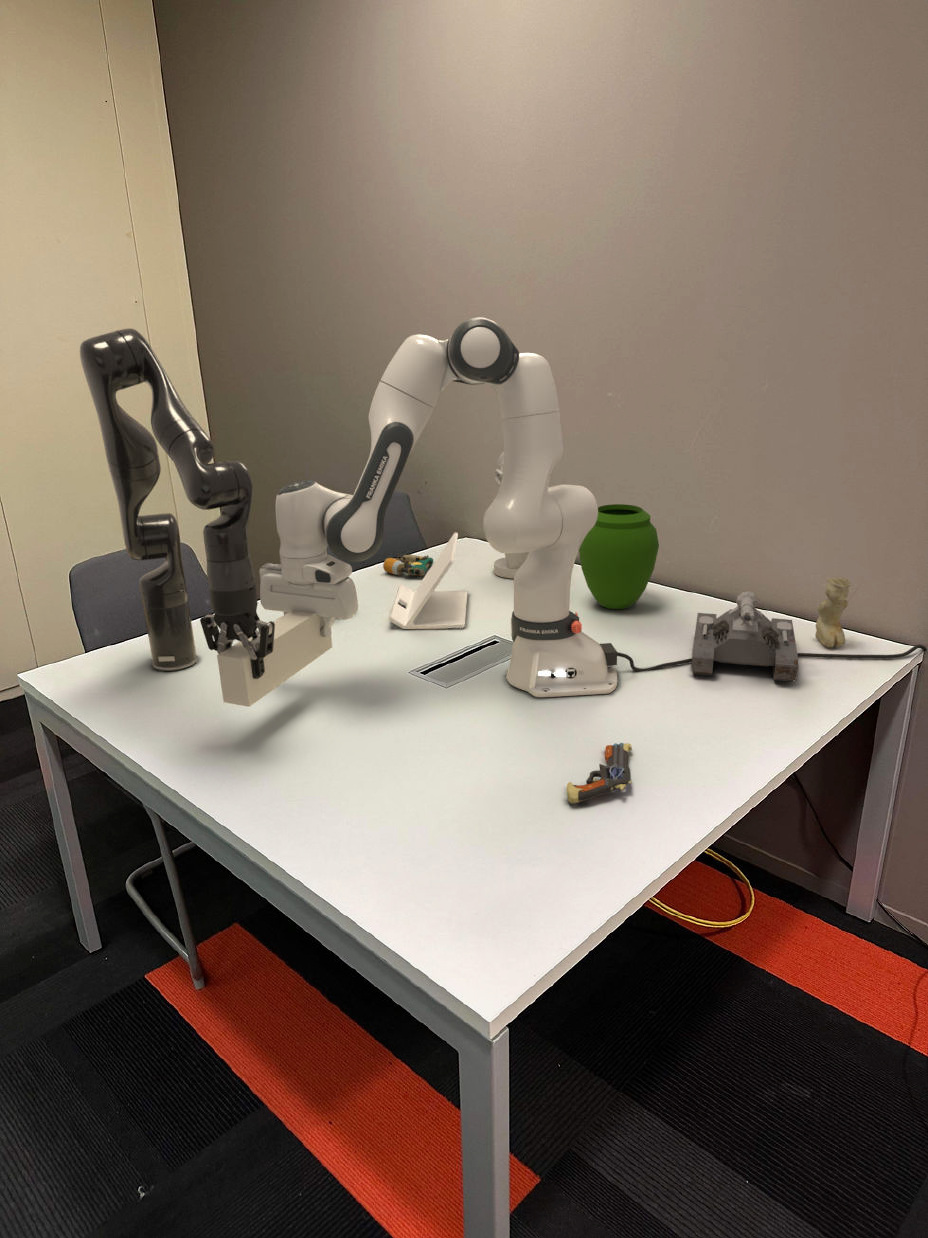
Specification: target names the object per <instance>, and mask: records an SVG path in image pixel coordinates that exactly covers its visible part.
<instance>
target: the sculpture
mask: <svg viewBox="0 0 928 1238" xmlns="http://www.w3.org/2000/svg"><path fill="white" fill-rule="evenodd" d="M826 581H827V586H826V588H825V590H824V593H825V595H826V596H827V598H826V600H824V601H822V602H821V603H820V604H819V605H818V606H817V609H816V610H817V612H818V614H819V616H818V617H817V619H816V623H815V630H816V631H815V634H814V635H815V639H817V640H819V642H820V643H821V644H822V645H823V646H825V647H827V648H832V647H834V646H835V647H843V646H844V645H845V643H846V642H845V641H846V636H845V632H844V630H843V626H842V624H841V622H840V621H841V617H842V615H843V612H844V610H845V609H846V608H847V606H848V604H849V603H848V602H849V601H847V598H848V597H849V592H850V586H851V585H852V582H850V580H848V579H847V578H845V577H841V576H840V577H835V578H831V577H827V578H826Z"/></svg>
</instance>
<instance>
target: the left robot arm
mask: <svg viewBox="0 0 928 1238" xmlns="http://www.w3.org/2000/svg"><path fill="white" fill-rule="evenodd" d="M79 359H80V362H81V367H82V370H83V374H84V377H85V380H86V383H87V386H88V389H89V393H90V395H91V398H92V403H93V405H94V408H95V412H96V415H97V419H98V422H99V427H100V431H101V437H102V442H103V448H104V452H105V456H106V457H105V458H106V462H107V466H108V470H109V473H110V477H111V481H112V484H113V488H114V491H115V496H116V499H117V505H118V510H119V511H118V512H119V517H120V523H121V530H122V538H123V542H124V546H125V549H126V553H127V555H128V556H129V557H130V558H131V559H132V560H134V561H149V560H150V561H151V560H159V559H165V561H164V562H163V564H161V565H160V566H159V567H157V568H155V569H153V570H151V571H149V572H147V573H145V574H144V575H142V576H141V577H140V578H139V581H138V584H139V591H140V597H141V602H142V607H143V613H144V618H145V619H144V620H145V625H146V630H147V631H146V632H147V637H148V642H149V648H150V655H151V663H152V667H153V668H154V669H155V670H157V671H163V672H169V671H171V672H173V671H179V670H183V669H187V668H189V667H192V666H194V664H196V663H197V662H198V654H197V650H196V643H195V636H194V630H193V623H192V616H191V610H190V603H189V597H188V590H187V584H186V577H185V571H184V567H183V566H184V565H183V558H182V557H183V556H182V547H181V537H180V529H179V525H178V521H177V519H176V517H175V516H174V515H173V514H172V513H170V512H169V513H168V512H165V513H154V514H144V515H143V514H142V515H140V511H141V509H142V506H143V504H144V503H145V501H146V500H147V498H148V497H149V495H150V494H151V493H152V491H153V490H154V488H155V486H156V484H157V483H158V481H159V478H160V475H161V470H162V469H161V461H160V456H159V450H158V445H157V442H158V444H159V445H160V447H161V448H162V449H163V450H164V452H165V453H166V455H168V457H169V458H170V460H171V461H172V462H173V464H174V466H175V468H176V471H177V473H178V476H179V478H180V481H181V483H182V488H183V490H184V493H185V496H186V498H187V499H188V501H189V502H190V504H192V505H193V506H195V508H198V509H200V510H203V511H211V510H215V509H219V508H222V510H221V513H220V515H219V516H218V517H216V518H214V519H213V520H211V521H209V522H208V523H207V524H205V525H204V527H203V530H202V533H203V534H202V535H203V543H204V550H205V557H206V558H205V559H206V576H207V583H208V592H209V596H210V597H209V598H210V606H211V610H212V612H213V613H208V614H206V615H204V616H202V617H201V618H200V619H199V621H200V625H201V628H202V632H203V635H204V639H205V641H206V644H207V647H208V649H209V650H210V651H216V652H217V655H218V654H220V653H222V652H223V651H225V650H227V649H228V648H230V647H232V646H233V645H234V644H233V643H234V641H235V640H236V641H238V642H240V641H241V642H242V644H243V647H244V648H246V649H247V650H248V652H249V654H250V656H251V658H252V659H251V667H252V675H253V678H254V679H258V678H260V677H261V676H263V674H264V672H265V668H264V659H263V658H264V657H266V656H267V655H268V654H270V653H272V652H273V645H274V631H275V624H274V622H273V621H272V620H270V621H268V622H266V621H264V620H261V619H260V617H259V615H258V612H257V609H258V605H259V604H258V603H259V602H258V596H257V585H256V578H255V570H254V564H253V561H252V557H251V551H250V549H251V548H250V541H249V533H248V528H249V522H250V515H251V509H252V502H253V497H254V481H253V478H252V475H251V472H250V470H249V469H248V467H247V466H246V465H245V463H243V462H241V461H239V460H238V459H237V460H236V459H229V460H228V459H227V460H222V461H217V462H212V463H210V462H211V461H212V460H213V459H214V456H215V454H216V453H215V452H216V449H215V445H214V442H213V441H212V439H211V438H210V436H209V435H208V434H207V432H205V430H204V429H203V428H202V427H201V425H200V423H199V422H198V421H197V420H196V419H195V418H194V417H193V415H192V413H191V412H190V411H189V410H188V408H187V407H186V405H185V404H184V402H183V400H182V398H181V397H180V394H179V393H178V392H177V390H176V388H175V386H174V385H173V382H172V380H171V379H170V377H169V375H168V374H167V372H166V370H165V369H164V367H163V365H162V364H161V362H160V360H159V359H158V356H157V355H156V353H155V352H154V350H153V348H152V347H151V344H149V342H148V341H147V339H146V338H145V337H144V335H142V333H140V332H139V331H138V330H137V329H135V328H129V327H128V328H122V329H118V330H114V331H110V332H107V333H104V334H103V333H102V334H100V335H96V336H93V337H89V338H87V339H84V340H82V342H81V344H80V345H79ZM144 383H145V384H147V385H148V386H149V388H150V390H151V407H150V408H151V410H150V425H151V431H152V433H151V432H150V431H149V430H148V429H147V428H146V427H145V426H144V425H142V424H141V423H140V422H139V421H137V420H136V419H135V418H133V417H132V416H131V415H130V414H129V413H128V412H127V411H125V410H124V408H122V407H121V405H119V402H118V400H117V393H118V392H119V391H122V390H125V389H128V388H132V387H134V386H138V385H141V384H144ZM257 629H258V630H259V632H258V630H257ZM259 635H260V636H259ZM251 637H252V640H251V641H249V640H248V639H249V638H251ZM254 646H255V648H254ZM255 649H256V650H255Z"/></svg>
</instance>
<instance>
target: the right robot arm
mask: <svg viewBox="0 0 928 1238" xmlns="http://www.w3.org/2000/svg"><path fill="white" fill-rule="evenodd" d="M451 382H453V383H460V384H465V385H471V386H479V385H486V384H488V385H489V386H490V387H491V388H492V389H493V390H494V392H495V394H496V397H497V401H498V407H499V416H500V424H501V434H502V445H503V452H504V470H503V476H502V480H501V484H500V486H498V487H499V488H498V490H497V493H496V495H495V497H494V499H493V501H492V502H491V504H490V505H489V506H488V507H487V509H486V510H485V512H484V515H483V520H482V529H483V534H484V537H485V539H486V541H487V543H488V544H489V545H490V546H491V548H492V549H493V550H495V551H496V552H497V553H501V554H505V553H525V552H529V554H528V556H527V558H526V560H525V561H524V563H523V564H522V565H521V566H520V567H519V569H518V570H517V572H516V573H515V576H514V578H513V611H512V612H511V618H510V635H511V640H512V645H511V646H512V647H511V655H510V660H509V665H508V669H507V672H506V675H505V678H506V681H507V683H509V684H510V685H511V686H513V687H515V688H517V689H519V690H522V691H525V692H527V693H529V694H530V695H531V696H533V697H535V698H556V697H572V696H573V697H574V696H588V695H589V696H590V695H591V696H592V695H607V694H611V693H612V692H613V691H615V690H616V688H617V686H618V673H617V670H616V668H615V667H614V666H617V665H618V657H620V658H624V659H626V660H627V661H628V662H629V664H630V665H629V666H630V668H631V670H632V671H634V672H637V673H639V672H640V673H641V672H650V671H655V670H658V669H662V668H667V667H673V666H678V665H683V664H689V663H692V657H691V658H687V659H681V660H676V661H671V662H665V663H661V664H656V665H653V666H651V667H646V668H639V667H636V666H635V663H634V660H633V658H632V657H631V656H630V655H628V654H626V653H623V652H618V651H617V650H616V648H615V646H613V643H611V642H605V643H599V642H598V641H596V640H595V639H593V638H591V637H590V636H589V635H587V634H586V633H585V632H583V631H582V630H583V626H582V625H583V624H582V622H581V621H580V616H579V615H578V612H577V611H575V613H574V612H573V611H571V610H570V600H571V581H572V574H573V569H574V565H575V563H576V559H577V557H578V554H579V549H580V546H581V544H582V542H583V540H584V538H585V537H586V535H587V534H588V532H589V531H590V530H591V529H592V528H593V527H594V525H595V523H596V521H597V517H598V507H599V506H598V503H597V500H596V498H595V496H594V494H593V493H592V491H591V490H589V489H588V488H587V487H585V486H583V485H576V484H558V485H553V486H549V485H550V479H551V475H552V472H553V469H554V468H555V466H556V465H557V464H558V463H559V462H560V460H561V459H562V458H563V455H564V449H565V448H564V439H563V431H562V430H563V429H562V420H561V411H560V405H559V404H560V402H559V397H558V391H557V386H556V383H555V379H554V375H553V371H552V368H551V365H550V363H549V361H548V360H547V359H546V358H545V357H544V356H543V355H540V354H537V353H533V352H520V351H519V348H517V346H516V345H515V344H514V343H513V341H512V340H511V338H510V337H509V335H508V333H507V332H506V331H505V329H504V328H503V327H502V326H501V325H499V324H498V323H497V322H495V321H494V320H493V319H490V318H486V317H478V316H477V317H472V318H469V319H466V320H464V321H463V322H461V323H460V324H459V325H458V326H457V327H456V328H455V329H454V330H453V333H452V334H451V336H450V337H449V338H447V339H444V340H439V339H436V338H434V337H433V336H430V335H427V334H419V333H418V334H413V335H409V336H408V337H406V338H405V340H404V341H403V342H402V344H401V345H400V346H399V348H398V349H397V351H396V352H395V354H394V355H393V356H392V358H391V360H390V361H389V363H388V365H387V367H386V368H385V370H384V372H383V374H382V376H381V379H380V381H379V382H378V385H377V387H376V389H375V391H374V394H373V398H372V400H371V404H370V408H369V412H368V424H369V429H370V439H371V444H370V445H371V446H370V452H369V453H370V454H369V456H368V458H367V462H366V464H365V466H364V469H363V471H362V473H361V476H360V478H359V481H358V483H357V485H356V488H355V490H354V493H353V494H349V493H343V492H339V491H335V490H333V489H330V488H327V487H325V486H323V485H321V484H319V483H318V482H317V481H316V480H311V479H307V480H306V479H305V480H304V479H303V480H297V481H294V482H290V483H288V484H286V485H284V486H282V487H281V489H279V491H278V492H277V494H276V498H275V522H276V532H277V535H278V538H279V542H280V547H279V560H280V563H271V562H267V563H265V564H264V565H262V566H260V568H259V579H260V585H259V598H260V600H259V601H260V605H261V607H262V608H263V609H264V610H267V611H272V612H273V611H275V612H282V613H283V615H285V614H287V613H288V612H290V611H292V610H293V611H301V612H309V613H316V616H322V617H323V619H324V622H326V624H325V626H324V627H322V628H321V629H320V633H321V637H329V636H331V637H332V626H333V624H334V622H335V620H336V619H337V620H338V619H339V620H349V619H351V618H353V617H354V616H355V615H356V614H357V612H358V611H359V600H358V593H357V588H356V584H355V582H354V580H353V579H352V578H351V577H350V576H351V575H352V574H353V567H352V566H351V564H349V563H360V562H364V561H367V560H368V559H370V558H372V557H373V556H374V555H375V554H377V552H378V551H379V550H380V548H381V546H382V543H383V540H384V534H385V533H384V532H385V531H384V529H385V525H384V524H385V516H386V512H387V509H388V506H389V504H390V501H391V500H392V497H393V494H394V492H395V490H396V488H397V484H398V482H399V481H400V478H401V475H402V473H403V472H404V468H405V466H406V463H407V461H408V459H409V457H410V455H411V453H412V452H413V449H414V447H415V445H416V444H417V442H418V440H419V438H420V437H421V434H422V433H423V431H424V429H425V427H426V425H427V423H428V422H429V420H430V418H431V416H432V414H433V412H434V410H435V408H436V406H437V403H438V402H439V400H440V397H441V395H442V393H443V391H444V390H445V389H446V387H447V386H448V385H449V384H450V383H451ZM327 547H328V548H329V550H330V551H331V552H332V554H333V555H334V556H336V557H337V558H336V557H334V556H332V555H331V554H328V551H327ZM347 562H348V563H347ZM918 649H921V650H922V651H928V649H927V647H926V646H924V645H923V644H916V645H914V646H912V647H911V648H910V649H908V650H907V651H905V652H902V653H896V654H848V653H847V654H846V653H845V654H844V653H812V652H797V654H798V658H799V657H800V658H801V657H803V658H828V659H830V658H832V659H833V658H834V659H898V658H903V657H907V656H909V655H911V654H912V653H913V652H915V651H916V650H918Z"/></svg>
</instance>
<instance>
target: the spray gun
mask: <svg viewBox="0 0 928 1238" xmlns="http://www.w3.org/2000/svg"><path fill="white" fill-rule="evenodd" d="M433 564H434V558H433V557H429V555H424V556H422V555H421V556H420V555H415V554H411V553H410V554H399V555H397V554H396V555H395V557H394V558H393V557H387V558H386V559H385V560H384V562H383V564H382V568H383V571H384V572H386V573H389V574H392V575H395V576H399V575H402V574H407V575H408V576H418V577H423V576H425V575H426V574H425V573H426V572H428V568H429V567H430V566H431V567H432V565H433Z"/></svg>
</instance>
